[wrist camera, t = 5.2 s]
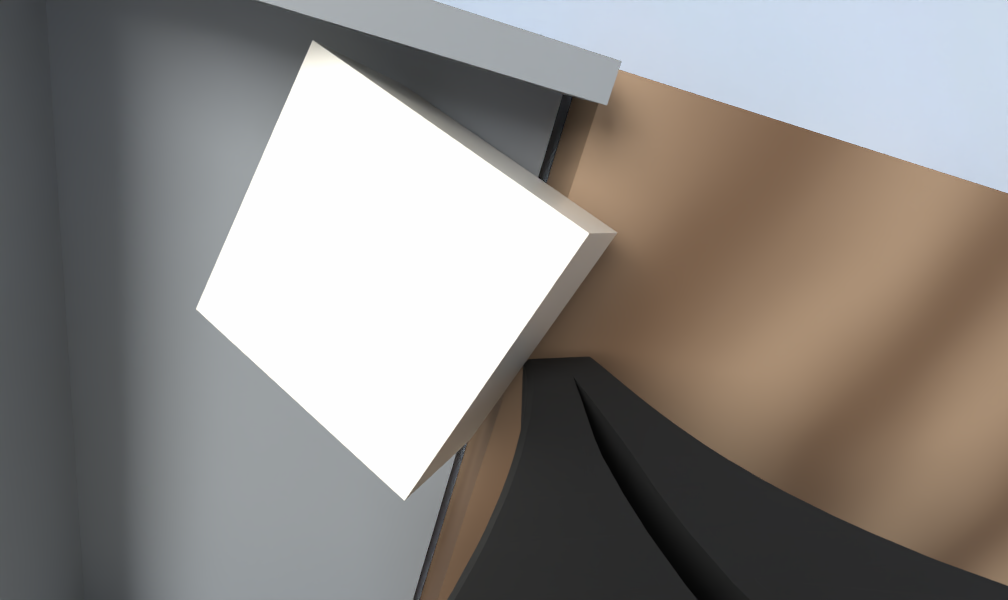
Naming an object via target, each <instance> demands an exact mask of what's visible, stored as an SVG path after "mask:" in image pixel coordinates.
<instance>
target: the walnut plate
mask: <svg viewBox="0 0 1008 600" xmlns="http://www.w3.org/2000/svg"><path fill="white" fill-rule="evenodd" d="M546 184H548V185H549V186H551V187H552V188H554V189H555V190H557V191H558V192H560V193H561V194H562V195H564V196H565V197H567V198H568V199H570V200H571V201H573V202H574V203H575V204H577V205H578V206H580V207H581V208H583V209H584V210H586V211H587V212H589V213H590V214H591V215H593V216H594V217H596V218H597V219H599V220H600V221H602V222H603V223H605V224H606V225H607V226H609V227H610V228H612V229H613V230H615V231H616V232H618V233H617V234H616V236H615V237H614V238H613V240H612V241H611V243H610V244H609V245H608V247H607V248H606V250H605V251H604V252H603V254H602V255H601V257H600V258H599V259H598V261H597V262H596V264H595V265H594V266H593V268H592V269H591V271H590V272H589V273H588V275H587V276H586V278H585V279H584V281H583V282H582V283H581V285H580V286H579V288H578V289H577V290H576V292H575V293H574V295H573V296H572V297H571V299H570V300H569V302H568V303H567V304H566V306H565V307H564V309H563V310H562V311H561V313H560V314H559V316H558V317H557V319H556V320H555V321H554V323H553V324H552V326H551V327H550V328H549V330H548V331H547V333H546V334H545V335H544V337H543V338H542V340H541V341H540V342H539V344H538V345H537V347H536V348H535V349H534V351H533V352H532V354H531V355H530V356H529V358H528V359H541V358H565V357H591V358H592V359H594V360H595V361H596V362H597V363H599V364H600V365H601V366H602V367H604V368H605V369H606V370H607V371H608V372H610V373H611V374H612V375H613V376H614V377H616V378H617V379H618V380H619V381H620V382H622V383H623V384H624V385H625V386H627V387H628V388H629V389H630V390H631V391H633V392H634V393H635V394H636V395H638V396H639V397H640V398H641V399H643V400H644V401H645V402H646V403H648V404H649V405H650V406H652V407H653V408H654V409H656V410H657V411H658V412H659V413H661V414H662V415H663V416H665V417H666V418H668V419H669V420H670V421H672V422H673V423H674V424H676V425H677V426H678V427H680V428H681V429H683V430H684V431H686V432H687V433H689V434H690V435H692V436H693V437H694V438H696V439H697V440H699V441H700V442H702V443H703V444H705V445H706V446H708V447H709V448H711V449H712V450H714V451H715V452H717V453H719V454H720V455H722V456H723V457H725V458H727V459H728V460H730V461H732V462H733V463H735V464H737V465H739V466H740V467H742V468H744V469H745V470H747V471H749V472H750V473H752V474H754V475H756V476H757V477H759V478H761V479H762V480H764V481H766V482H768V483H770V484H772V485H774V486H775V487H777V488H779V489H781V490H783V491H785V492H787V493H789V494H791V495H793V496H795V497H797V498H799V499H801V500H803V501H805V502H807V503H809V504H811V505H813V506H815V507H817V508H819V509H821V510H823V511H825V512H827V513H829V514H831V515H833V516H835V517H837V518H839V519H842V520H844V521H846V522H848V523H851V524H853V525H855V526H857V527H859V528H862V529H864V530H866V531H868V532H870V533H873V534H875V535H878V536H880V537H882V538H885V539H887V540H890V541H892V542H894V543H897V544H899V545H902V546H904V547H906V548H909V549H911V550H914V551H916V552H918V553H921V554H923V555H926V556H928V557H931V558H933V559H936V560H938V561H941V562H943V563H946V564H949V565H952V566H955V567H957V568H960V569H963V570H966V571H968V572H971V573H974V574H977V575H979V576H982V577H985V578H988V579H990V580H993V581H996V582H999V583H1002V584H1004V585H1007V586H1008V193H1005V192H1002V191H999V190H995V189H992V188H989V187H986V186H983V185H980V184H977V183H973V182H970V181H967V180H964V179H961V178H958V177H955V176H951V175H948V174H945V173H942V172H939V171H936V170H933V169H929V168H926V167H923V166H920V165H917V164H914V163H911V162H907V161H904V160H901V159H898V158H895V157H892V156H889V155H885V154H882V153H879V152H876V151H873V150H870V149H867V148H863V147H860V146H857V145H854V144H851V143H848V142H845V141H841V140H838V139H835V138H832V137H829V136H826V135H823V134H820V133H816V132H813V131H810V130H807V129H804V128H801V127H798V126H794V125H791V124H788V123H785V122H782V121H779V120H776V119H772V118H769V117H766V116H763V115H760V114H757V113H754V112H750V111H747V110H744V109H741V108H738V107H735V106H732V105H728V104H725V103H722V102H719V101H716V100H713V99H710V98H706V97H703V96H700V95H697V94H694V93H691V92H688V91H684V90H681V89H678V88H675V87H672V86H669V85H666V84H662V83H659V82H656V81H653V80H650V79H647V78H644V77H640V76H637V75H634V74H631V73H628V72H625V71H622V70H619V71H618V74H617V77H616V80H615V83H614V86H613V89H612V92H611V95H610V98H609V101H608V104H607V105H603V104H599V103H596V102H592V101H588V100H584V99H580V98H576V97H572V101H571V104H570V107H569V111H568V114H567V117H566V120H565V124H564V127H563V130H562V134H561V137H560V140H559V143H558V147H557V150H556V153H555V157H554V160H553V163H552V166H551V170H550V173H549V176H548V180H547V183H546ZM528 359H527V360H528ZM522 377H523V366H522V368H521V369H520V371H519V372H518V373H517V375H516V376H515V378H514V379H513V380H512V382H511V383H510V385H509V386H508V387H507V389H506V390H505V392H504V393H503V394H502V396H501V397H500V399H499V400H498V402H497V403H496V404H495V406H494V407H493V409H492V410H491V411H490V413H489V414H488V416H487V417H486V418H485V420H484V421H483V423H482V424H481V425H480V427H479V428H478V430H477V431H476V432H475V434H474V435H473V437H472V438H471V439H470V441H469V442H467V446H466V449H465V452H464V455H463V459H462V462H461V465H460V469H459V472H458V475H457V478H456V482H455V485H454V488H453V492H452V495H451V498H450V501H449V505H448V508H447V511H446V515H445V518H444V521H443V524H442V528H441V531H440V534H439V538H438V541H437V544H436V547H435V551H434V554H433V557H432V560H431V564H430V567H429V570H428V574H427V577H426V580H425V583H424V587H423V590H422V593H421V597H420V600H447V599H448V597H449V596H450V594H451V592H452V591H453V589H454V587H455V585H456V583H457V582H458V580H459V578H460V576H461V574H462V572H463V571H464V569H465V567H466V565H467V563H468V562H469V560H470V558H471V556H472V554H473V552H474V551H475V549H476V547H477V545H478V543H479V541H480V539H481V537H482V535H483V533H484V531H485V529H486V526H487V524H488V522H489V520H490V517H491V515H492V513H493V511H494V508H495V506H496V504H497V501H498V499H499V497H500V494H501V492H502V489H503V486H504V484H505V481H506V478H507V476H508V473H509V470H510V467H511V464H512V461H513V457H514V454H515V450H516V447H517V443H518V439H519V435H520V431H521V407H522Z"/></svg>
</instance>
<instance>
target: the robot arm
mask: <svg viewBox="0 0 1008 600" xmlns="http://www.w3.org/2000/svg"><path fill="white" fill-rule="evenodd" d="M447 600H1008V586H1007V585H1004V584H1002V583H999V582H996V581H993V580H990V579H988V578H985V577H982V576H979V575H977V574H974V573H971V572H968V571H966V570H963V569H960V568H957V567H955V566H952V565H949V564H946V563H943V562H941V561H938V560H936V559H933V558H931V557H928V556H926V555H923V554H921V553H918V552H916V551H914V550H911V549H909V548H906V547H904V546H902V545H899V544H897V543H894V542H892V541H890V540H887V539H885V538H882V537H880V536H878V535H875V534H873V533H870V532H868V531H866V530H864V529H862V528H859V527H857V526H855V525H853V524H851V523H848V522H846V521H844V520H842V519H839V518H837V517H835V516H833V515H831V514H829V513H827V512H825V511H823V510H821V509H819V508H817V507H815V506H813V505H811V504H809V503H807V502H805V501H803V500H801V499H799V498H797V497H795V496H793V495H791V494H789V493H787V492H785V491H783V490H781V489H779V488H777V487H775V486H774V485H772V484H770V483H768V482H766V481H764V480H762V479H761V478H759V477H757V476H756V475H754V474H752V473H750V472H749V471H747V470H745V469H744V468H742V467H740V466H739V465H737V464H735V463H733V462H732V461H730V460H728V459H727V458H725V457H723V456H722V455H720V454H719V453H717V452H715V451H714V450H712V449H711V448H709V447H708V446H706V445H705V444H703V443H702V442H700V441H699V440H697V439H696V438H694V437H693V436H692V435H690V434H689V433H687V432H686V431H684V430H683V429H681V428H680V427H678V426H677V425H676V424H674V423H673V422H672V421H670V420H669V419H668V418H666V417H665V416H663V415H662V414H661V413H659V412H658V411H657V410H656V409H654V408H653V407H652V406H650V405H649V404H648V403H646V402H645V401H644V400H643V399H641V398H640V397H639V396H638V395H636V394H635V393H634V392H633V391H631V390H630V389H629V388H628V387H627V386H625V385H624V384H623V383H622V382H620V381H619V380H618V379H617V378H616V377H614V376H613V375H612V374H611V373H610V372H608V371H607V370H606V369H605V368H604V367H602V366H601V365H600V364H599V363H597V362H596V361H595V360H594V359H592V358H591V357H565V358H541V359H528V360H527V361H526V362H525V363H524V365H523V377H522V407H521V431H520V435H519V439H518V443H517V447H516V450H515V454H514V457H513V461H512V464H511V467H510V470H509V473H508V476H507V478H506V481H505V484H504V486H503V489H502V492H501V494H500V497H499V499H498V501H497V504H496V506H495V508H494V511H493V513H492V515H491V517H490V520H489V522H488V524H487V526H486V529H485V531H484V533H483V535H482V537H481V539H480V541H479V543H478V545H477V547H476V549H475V551H474V552H473V554H472V556H471V558H470V560H469V562H468V563H467V565H466V567H465V569H464V571H463V572H462V574H461V576H460V578H459V580H458V582H457V583H456V585H455V587H454V589H453V591H452V592H451V594H450V596H449V597H448V599H447Z"/></svg>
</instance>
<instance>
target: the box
mask: <svg viewBox="0 0 1008 600" xmlns="http://www.w3.org/2000/svg"><path fill="white" fill-rule="evenodd" d="M312 40H314V41H316V42H318V43H320V44H322V45H324V46H326V47H328V48H330V49H332V50H334V51H336V52H338V53H340V54H342V55H344V56H346V57H348V58H350V59H352V60H354V61H356V62H358V63H360V64H362V65H364V66H366V67H368V68H370V69H372V70H374V71H376V72H378V73H380V74H382V75H384V76H386V77H388V78H390V79H393V80H395V81H397V82H399V83H401V84H403V85H404V86H406V87H407V88H409V89H410V90H411V91H413V92H414V93H416V94H417V95H419V96H420V97H422V98H423V99H425V100H426V101H427V102H429V103H430V104H432V105H433V106H435V107H436V108H438V109H439V110H441V111H442V112H443V113H445V114H446V115H448V116H449V117H451V118H452V119H454V120H455V121H456V122H458V123H459V124H461V125H462V126H464V127H465V128H467V129H468V130H470V131H471V132H472V133H474V134H475V135H477V136H478V137H480V138H481V139H483V140H484V141H486V142H487V143H488V144H490V145H491V146H493V147H494V148H496V149H497V150H499V151H500V152H501V153H503V154H504V155H506V156H507V157H509V158H510V159H512V160H513V161H515V162H516V163H517V164H519V165H520V166H522V167H523V168H525V169H526V170H528V171H529V172H530V173H532V174H533V175H535V176H536V177H538V176H539V173H540V170H541V166H542V163H543V160H544V156H545V153H546V150H547V146H548V143H549V139H550V136H551V133H552V129H553V126H554V123H555V119H556V116H557V112H558V109H559V106H560V102H561V99H562V96H563V94H565V95H568V96H572V97H576V98H580V99H584V100H588V101H592V102H596V103H599V104H603V105H607V104H608V101H609V98H610V95H611V92H612V89H613V86H614V83H615V80H616V77H617V74H618V71H619V68H620V65H621V62H622V61H619V60H616V59H613V58H610V57H607V56H604V55H601V54H598V53H595V52H591V51H588V50H585V49H582V48H579V47H576V46H573V45H570V44H567V43H564V42H560V41H557V40H554V39H551V38H548V37H545V36H542V35H539V34H536V33H533V32H529V31H526V30H523V29H520V28H517V27H514V26H511V25H508V24H505V23H501V22H498V21H495V20H492V19H489V18H486V17H483V16H480V15H477V14H474V13H470V12H467V11H464V10H461V9H458V8H455V7H452V6H449V5H446V4H443V3H439V2H436V1H433V0H0V600H413V597H414V594H415V591H416V587H417V584H418V580H419V577H420V574H421V570H422V567H423V564H424V560H425V557H426V554H427V550H428V547H429V543H430V540H431V537H432V533H433V530H434V527H435V523H436V520H437V517H438V513H439V510H440V506H441V503H442V500H443V496H444V493H445V490H446V486H447V483H448V479H449V476H450V473H451V469H452V466H453V463H454V459H455V456H456V454H454V455H453V456H452V457H451V458H450V459H449V460H448V461H447V462H446V463H445V464H444V465H443V466H442V467H440V468H439V469H438V470H437V471H436V472H435V473H434V474H433V475H432V476H431V477H430V478H429V479H428V480H426V481H425V482H424V483H423V484H422V485H421V486H420V487H419V488H418V489H417V490H416V491H415V492H414V493H412V494H411V495H410V496H409V497H408V498H407V499H406V500H405V501H404V500H403V499H402V498H401V497H400V496H399V495H398V494H397V493H395V492H394V491H393V490H392V489H391V488H390V487H389V486H388V485H387V484H386V483H385V482H383V481H382V480H381V479H380V478H379V477H378V476H377V475H376V474H375V473H374V472H373V471H372V470H370V469H369V468H368V467H367V466H366V465H365V464H364V463H363V462H362V461H361V460H360V459H358V458H357V457H356V456H355V455H354V454H353V453H352V452H351V451H350V450H349V449H348V448H346V447H345V446H344V445H343V444H342V443H341V442H340V441H339V440H338V439H337V438H336V437H335V436H333V435H332V434H331V433H330V432H329V431H328V430H327V429H326V428H325V427H324V426H323V425H321V424H320V423H319V422H318V421H317V420H316V419H315V418H314V417H313V416H312V415H311V414H310V413H308V412H307V411H306V410H305V409H304V408H303V407H302V406H301V405H300V404H299V403H298V402H296V401H295V400H294V399H293V398H292V397H291V396H290V395H289V394H288V393H287V392H286V391H285V390H283V389H282V388H281V387H280V386H279V385H278V384H277V383H276V382H275V381H274V380H273V379H271V378H270V377H269V376H268V375H267V374H266V373H265V372H264V371H263V370H262V369H261V368H260V367H258V366H257V365H256V364H255V363H254V362H253V361H252V360H251V359H250V358H249V357H248V356H246V355H245V354H244V353H243V352H242V351H241V350H240V349H239V348H238V347H237V346H236V345H234V344H233V343H232V342H231V341H230V340H229V339H228V338H227V337H226V336H225V335H224V334H223V333H221V332H220V331H219V330H218V329H217V328H216V327H215V326H214V325H213V324H212V323H211V322H209V321H208V320H207V319H206V318H205V317H204V316H203V315H202V314H201V313H200V312H199V311H198V310H196V308H197V305H198V303H199V301H200V298H201V296H202V294H203V292H204V289H205V287H206V285H207V282H208V280H209V278H210V275H211V273H212V271H213V269H214V266H215V264H216V262H217V259H218V257H219V255H220V252H221V250H222V248H223V245H224V243H225V241H226V239H227V236H228V234H229V232H230V229H231V227H232V225H233V222H234V220H235V218H236V216H237V213H238V211H239V209H240V206H241V204H242V202H243V199H244V197H245V195H246V193H247V190H248V188H249V186H250V183H251V181H252V179H253V176H254V174H255V172H256V169H257V167H258V165H259V163H260V160H261V158H262V156H263V153H264V151H265V149H266V146H267V144H268V142H269V140H270V137H271V135H272V133H273V130H274V128H275V126H276V123H277V121H278V119H279V116H280V114H281V112H282V110H283V107H284V105H285V103H286V100H287V98H288V96H289V93H290V91H291V89H292V87H293V84H294V82H295V80H296V77H297V75H298V73H299V70H300V68H301V66H302V64H303V61H304V59H305V57H306V54H307V52H308V50H309V47H310V45H311V43H312Z"/></svg>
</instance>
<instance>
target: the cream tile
mask: <svg viewBox="0 0 1008 600" xmlns="http://www.w3.org/2000/svg"><path fill="white" fill-rule="evenodd" d="M617 233H618V232H616V231H615V230H613V229H612V228H610V227H609V226H607V225H606V224H605V223H603V222H602V221H600V220H599V219H597V218H596V217H594V216H593V215H591V214H590V213H589V212H587V211H586V210H584V209H583V208H581V207H580V206H578V205H577V204H575V203H574V202H573V201H571V200H570V199H568V198H567V197H565V196H564V195H562V194H561V193H560V192H558V191H557V190H555V189H554V188H552V187H551V186H549V185H548V184H546V183H545V182H544V181H542V180H541V179H539V178H538V177H536V176H535V175H533V174H532V173H530V172H529V171H528V170H526V169H525V168H523V167H522V166H520V165H519V164H517V163H516V162H515V161H513V160H512V159H510V158H509V157H507V156H506V155H504V154H503V153H501V152H500V151H499V150H497V149H496V148H494V147H493V146H491V145H490V144H488V143H487V142H486V141H484V140H483V139H481V138H480V137H478V136H477V135H475V134H474V133H472V132H471V131H470V130H468V129H467V128H465V127H464V126H462V125H461V124H459V123H458V122H456V121H455V120H454V119H452V118H451V117H449V116H448V115H446V114H445V113H443V112H442V111H441V110H439V109H438V108H436V107H435V106H433V105H432V104H430V103H429V102H427V101H426V100H425V99H423V98H422V97H420V96H419V95H417V94H416V93H414V92H413V91H411V90H410V89H409V88H407V87H406V86H404V85H403V84H401V83H399V82H397V81H395V80H393V79H390V78H388V77H386V76H384V75H382V74H380V73H378V72H376V71H374V70H372V69H370V68H368V67H366V66H364V65H362V64H360V63H358V62H356V61H354V60H352V59H350V58H348V57H346V56H344V55H342V54H340V53H338V52H336V51H334V50H332V49H330V48H328V47H326V46H324V45H322V44H320V43H318V42H316V41H314V40H312V43H311V45H310V47H309V50H308V52H307V54H306V57H305V59H304V61H303V64H302V66H301V68H300V70H299V73H298V75H297V77H296V80H295V82H294V84H293V87H292V89H291V91H290V93H289V96H288V98H287V100H286V103H285V105H284V107H283V110H282V112H281V114H280V116H279V119H278V121H277V123H276V126H275V128H274V130H273V133H272V135H271V137H270V140H269V142H268V144H267V146H266V149H265V151H264V153H263V156H262V158H261V160H260V163H259V165H258V167H257V169H256V172H255V174H254V176H253V179H252V181H251V183H250V186H249V188H248V190H247V193H246V195H245V197H244V199H243V202H242V204H241V206H240V209H239V211H238V213H237V216H236V218H235V220H234V222H233V225H232V227H231V229H230V232H229V234H228V236H227V239H226V241H225V243H224V245H223V248H222V250H221V252H220V255H219V257H218V259H217V262H216V264H215V266H214V269H213V271H212V273H211V275H210V278H209V280H208V282H207V285H206V287H205V289H204V292H203V294H202V296H201V298H200V301H199V303H198V305H197V308H196V310H198V311H199V312H200V313H201V314H202V315H203V316H204V317H205V318H206V319H207V320H208V321H209V322H211V323H212V324H213V325H214V326H215V327H216V328H217V329H218V330H219V331H220V332H221V333H223V334H224V335H225V336H226V337H227V338H228V339H229V340H230V341H231V342H232V343H233V344H234V345H236V346H237V347H238V348H239V349H240V350H241V351H242V352H243V353H244V354H245V355H246V356H248V357H249V358H250V359H251V360H252V361H253V362H254V363H255V364H256V365H257V366H258V367H260V368H261V369H262V370H263V371H264V372H265V373H266V374H267V375H268V376H269V377H270V378H271V379H273V380H274V381H275V382H276V383H277V384H278V385H279V386H280V387H281V388H282V389H283V390H285V391H286V392H287V393H288V394H289V395H290V396H291V397H292V398H293V399H294V400H295V401H296V402H298V403H299V404H300V405H301V406H302V407H303V408H304V409H305V410H306V411H307V412H308V413H310V414H311V415H312V416H313V417H314V418H315V419H316V420H317V421H318V422H319V423H320V424H321V425H323V426H324V427H325V428H326V429H327V430H328V431H329V432H330V433H331V434H332V435H333V436H335V437H336V438H337V439H338V440H339V441H340V442H341V443H342V444H343V445H344V446H345V447H346V448H348V449H349V450H350V451H351V452H352V453H353V454H354V455H355V456H356V457H357V458H358V459H360V460H361V461H362V462H363V463H364V464H365V465H366V466H367V467H368V468H369V469H370V470H372V471H373V472H374V473H375V474H376V475H377V476H378V477H379V478H380V479H381V480H382V481H383V482H385V483H386V484H387V485H388V486H389V487H390V488H391V489H392V490H393V491H394V492H395V493H397V494H398V495H399V496H400V497H401V498H402V499H403V500H404V501H405V500H406V499H407V498H408V497H409V496H410V495H411V494H412V493H414V492H415V491H416V490H417V489H418V488H419V487H420V486H421V485H422V484H423V483H424V482H425V481H426V480H428V479H429V478H430V477H431V476H432V475H433V474H434V473H435V472H436V471H437V470H438V469H439V468H440V467H442V466H443V465H444V464H445V463H446V462H447V461H448V460H449V459H450V458H451V457H452V456H453V455H454V454H456V453H457V452H458V451H459V450H460V449H461V448H462V447H463V446H464V445H465V444H466V443H467V442H469V441H470V439H471V438H472V437H473V435H474V434H475V432H476V431H477V430H478V428H479V427H480V425H481V424H482V423H483V421H484V420H485V418H486V417H487V416H488V414H489V413H490V411H491V410H492V409H493V407H494V406H495V404H496V403H497V402H498V400H499V399H500V397H501V396H502V394H503V393H504V392H505V390H506V389H507V387H508V386H509V385H510V383H511V382H512V380H513V379H514V378H515V376H516V375H517V373H518V372H519V371H520V369H521V368H522V366H523V365H524V363H525V362H526V361H527V359H528V358H529V356H530V355H531V354H532V352H533V351H534V349H535V348H536V347H537V345H538V344H539V342H540V341H541V340H542V338H543V337H544V335H545V334H546V333H547V331H548V330H549V328H550V327H551V326H552V324H553V323H554V321H555V320H556V319H557V317H558V316H559V314H560V313H561V311H562V310H563V309H564V307H565V306H566V304H567V303H568V302H569V300H570V299H571V297H572V296H573V295H574V293H575V292H576V290H577V289H578V288H579V286H580V285H581V283H582V282H583V281H584V279H585V278H586V276H587V275H588V273H589V272H590V271H591V269H592V268H593V266H594V265H595V264H596V262H597V261H598V259H599V258H600V257H601V255H602V254H603V252H604V251H605V250H606V248H607V247H608V245H609V244H610V243H611V241H612V240H613V238H614V237H615V236H616V234H617Z"/></svg>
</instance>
